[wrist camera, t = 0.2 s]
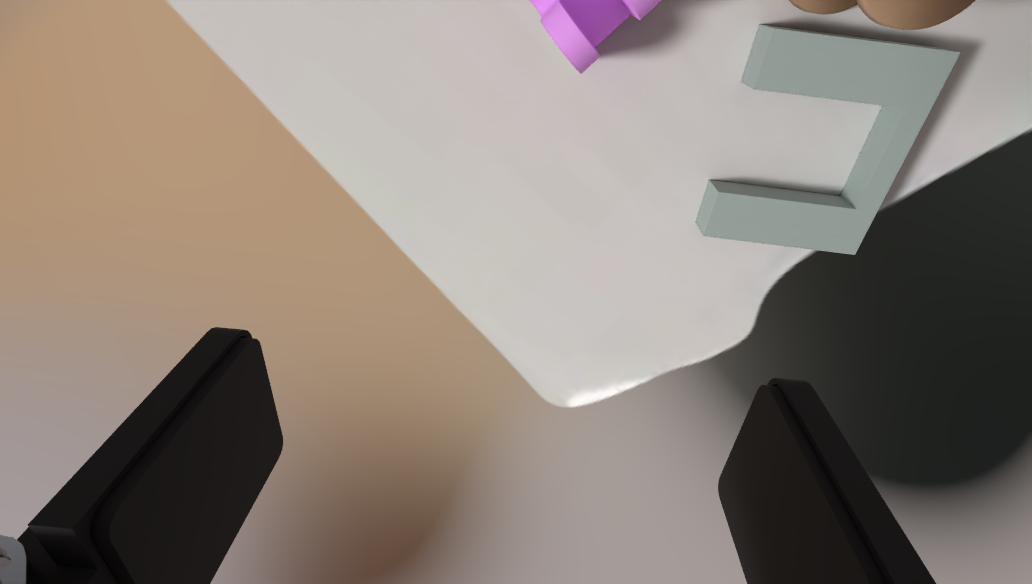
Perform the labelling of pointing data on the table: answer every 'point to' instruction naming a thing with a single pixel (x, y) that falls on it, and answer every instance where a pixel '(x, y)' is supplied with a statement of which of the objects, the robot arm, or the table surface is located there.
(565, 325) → the table surface
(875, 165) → the notched board
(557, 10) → the bracket
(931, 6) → the bobbin
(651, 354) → the table surface
